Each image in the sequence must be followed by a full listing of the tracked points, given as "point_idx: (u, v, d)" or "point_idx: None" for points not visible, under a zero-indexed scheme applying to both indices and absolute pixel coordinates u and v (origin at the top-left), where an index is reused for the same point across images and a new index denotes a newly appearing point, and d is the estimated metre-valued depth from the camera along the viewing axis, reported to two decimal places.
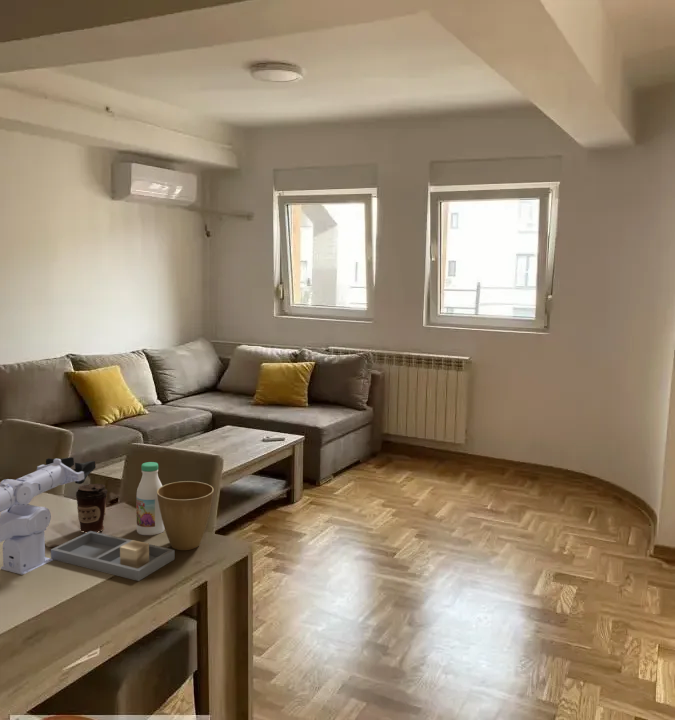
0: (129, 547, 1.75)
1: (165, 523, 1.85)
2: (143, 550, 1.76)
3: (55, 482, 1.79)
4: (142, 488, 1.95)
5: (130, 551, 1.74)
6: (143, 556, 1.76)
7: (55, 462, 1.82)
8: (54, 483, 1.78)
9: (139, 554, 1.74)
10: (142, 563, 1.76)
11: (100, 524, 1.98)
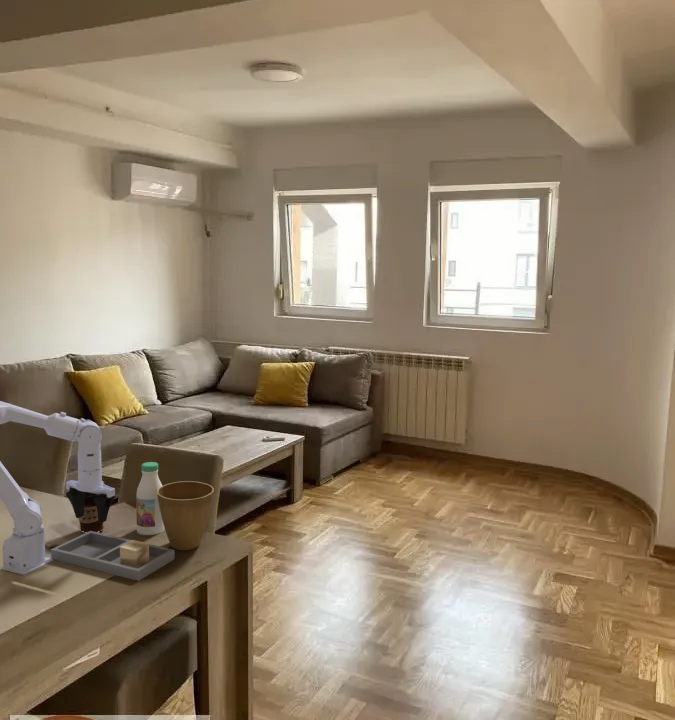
0: (129, 547, 1.75)
1: (165, 523, 1.85)
2: (143, 550, 1.76)
3: (96, 474, 1.78)
4: (142, 488, 1.95)
5: (130, 551, 1.74)
6: (143, 556, 1.76)
7: None
8: (95, 473, 1.78)
9: (139, 554, 1.74)
10: (142, 563, 1.76)
11: (100, 524, 1.98)
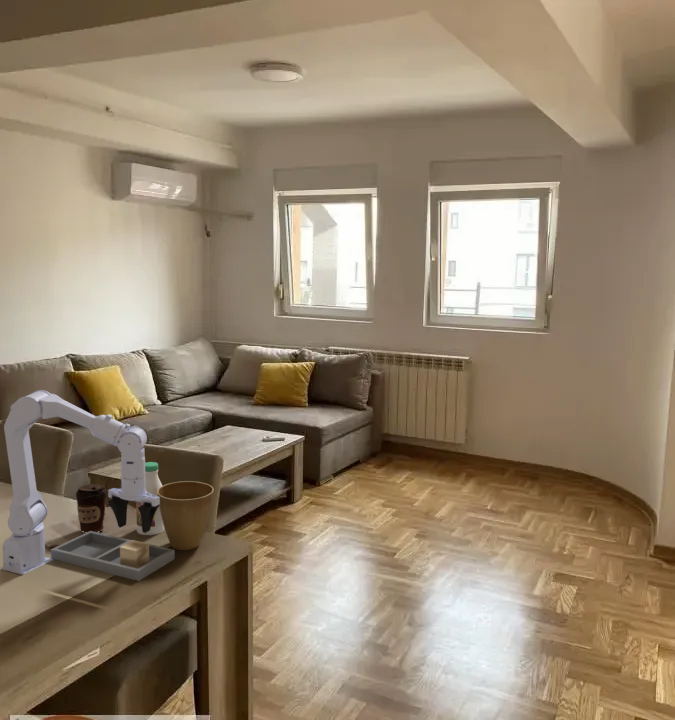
0: (129, 547, 1.75)
1: (165, 523, 1.85)
2: (143, 550, 1.76)
3: (140, 482, 1.72)
4: None
5: (130, 551, 1.74)
6: (143, 556, 1.76)
7: None
8: (139, 481, 1.72)
9: (139, 554, 1.74)
10: (142, 563, 1.76)
11: (100, 524, 1.98)
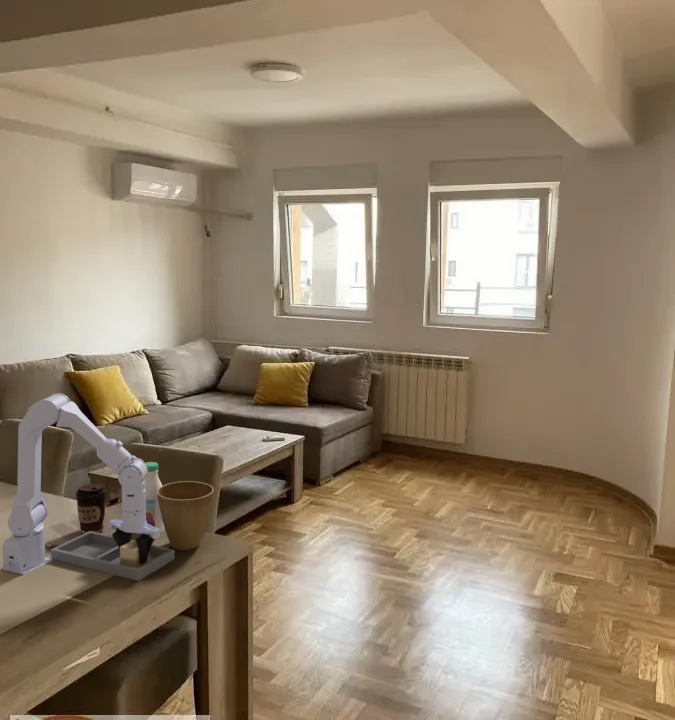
0: (129, 547, 1.75)
1: (165, 523, 1.85)
2: None
3: (140, 514, 1.73)
4: None
5: (130, 551, 1.74)
6: None
7: None
8: (140, 513, 1.73)
9: None
10: None
11: (100, 524, 1.98)
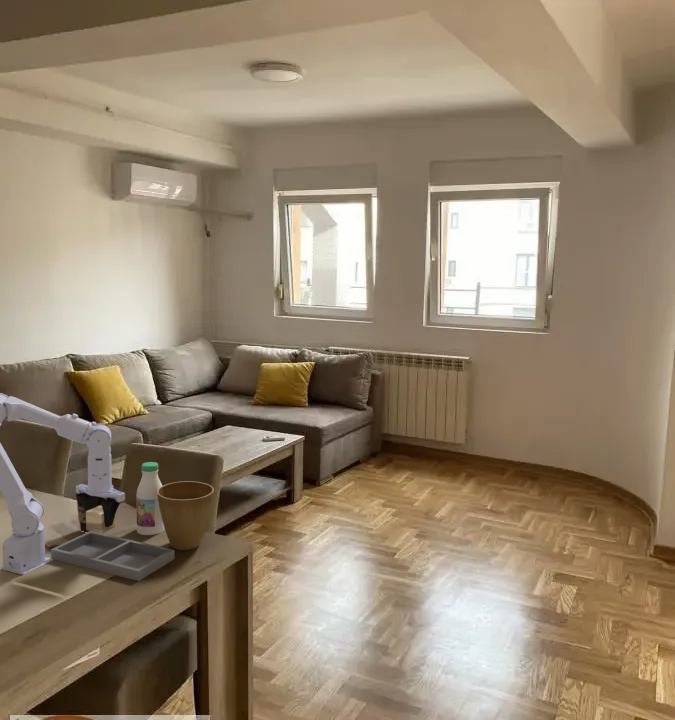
0: (95, 511, 1.78)
1: (165, 523, 1.85)
2: None
3: (106, 478, 1.77)
4: (142, 488, 1.95)
5: (96, 515, 1.77)
6: None
7: None
8: (105, 477, 1.76)
9: None
10: (108, 527, 1.79)
11: None
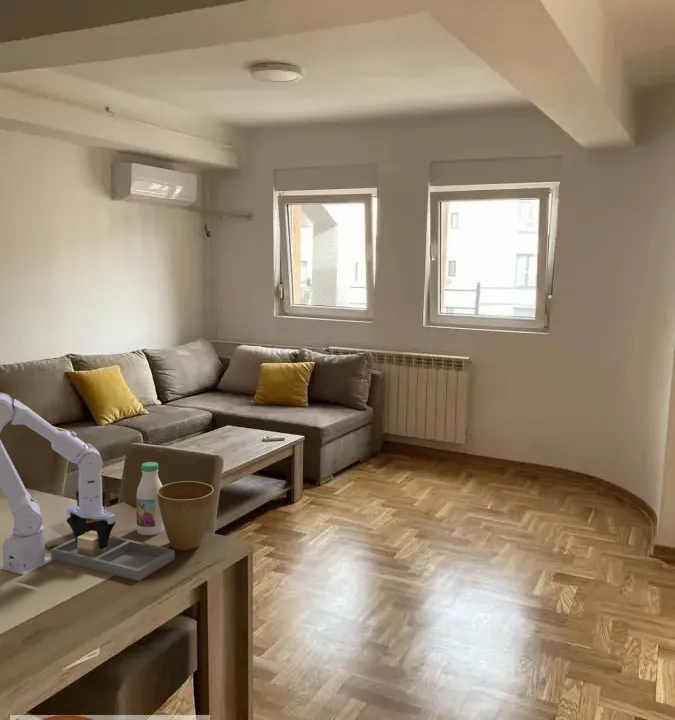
0: (86, 537, 1.81)
1: (165, 523, 1.85)
2: None
3: (96, 500, 1.79)
4: (142, 488, 1.95)
5: (87, 541, 1.79)
6: None
7: None
8: (96, 499, 1.79)
9: (95, 544, 1.80)
10: (99, 553, 1.81)
11: None
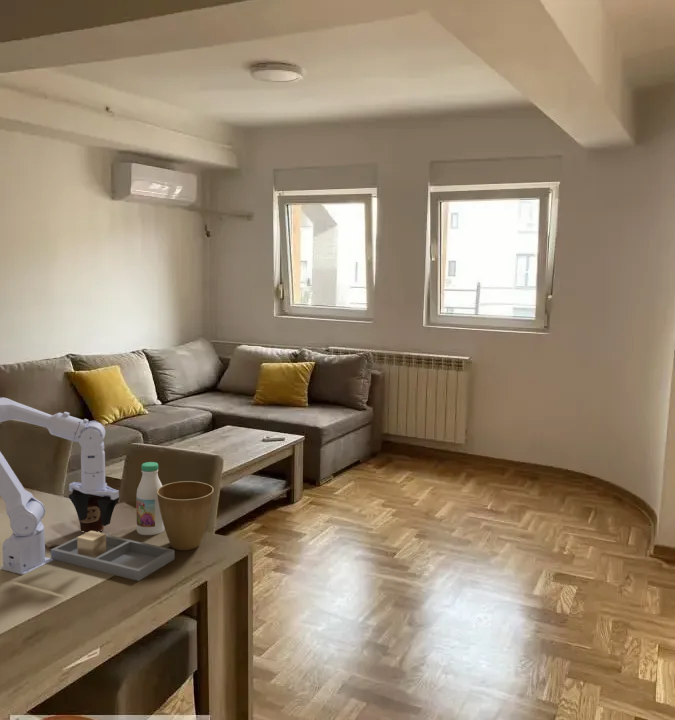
0: (86, 537, 1.81)
1: (165, 523, 1.85)
2: (100, 540, 1.81)
3: (99, 476, 1.75)
4: (142, 488, 1.95)
5: (87, 541, 1.79)
6: (100, 546, 1.82)
7: None
8: (99, 474, 1.75)
9: (95, 544, 1.80)
10: (99, 553, 1.81)
11: (100, 524, 1.98)
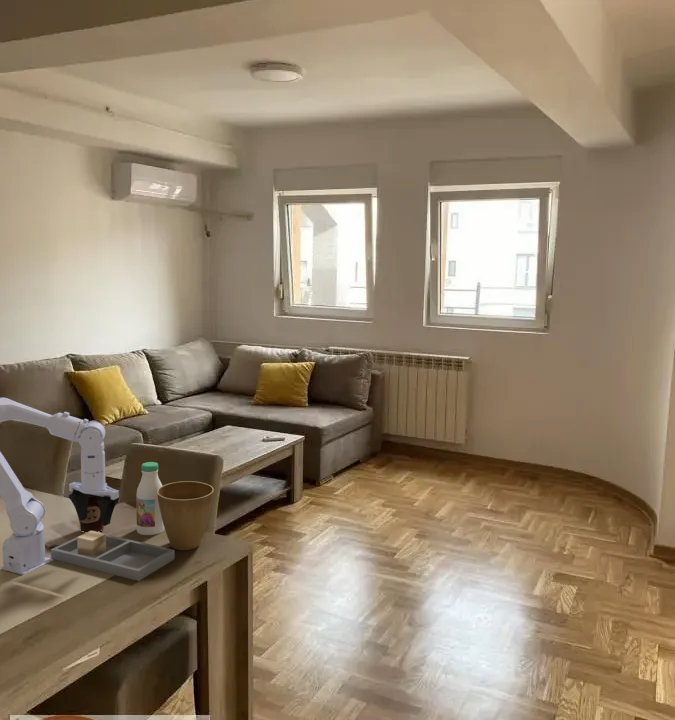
0: (86, 537, 1.81)
1: (165, 523, 1.85)
2: (100, 540, 1.81)
3: (99, 476, 1.75)
4: (142, 488, 1.95)
5: (87, 541, 1.79)
6: (100, 546, 1.82)
7: None
8: (99, 474, 1.75)
9: (95, 544, 1.80)
10: (99, 553, 1.81)
11: (100, 524, 1.98)
